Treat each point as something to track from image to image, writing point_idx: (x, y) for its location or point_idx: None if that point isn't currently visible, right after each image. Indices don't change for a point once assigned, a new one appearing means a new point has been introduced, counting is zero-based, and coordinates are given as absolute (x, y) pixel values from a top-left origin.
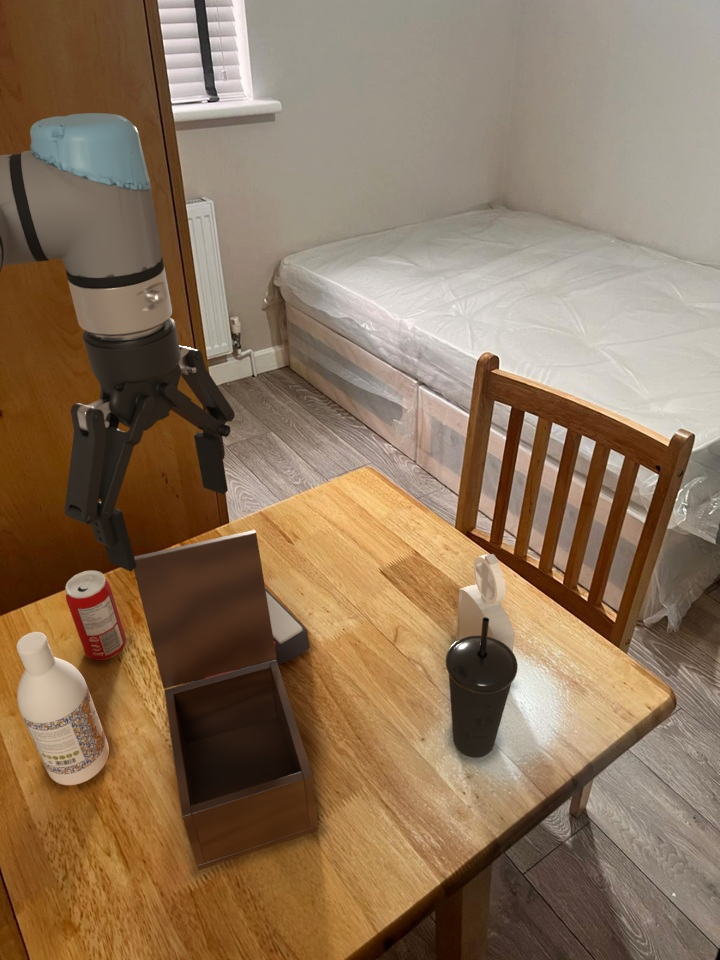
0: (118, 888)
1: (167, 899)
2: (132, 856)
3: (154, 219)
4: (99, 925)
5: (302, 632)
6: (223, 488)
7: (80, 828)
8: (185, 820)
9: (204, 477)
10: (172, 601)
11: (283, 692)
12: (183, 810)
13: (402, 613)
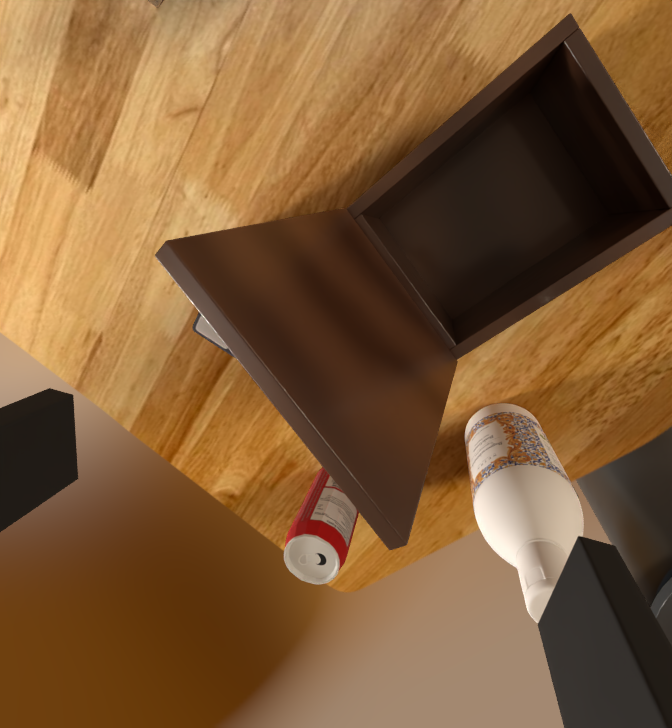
0: (661, 304)
1: (667, 236)
2: (615, 309)
3: None
4: None
5: None
6: (46, 403)
7: (590, 387)
8: None
9: (32, 496)
10: (395, 399)
11: (405, 163)
12: None
13: (145, 119)
